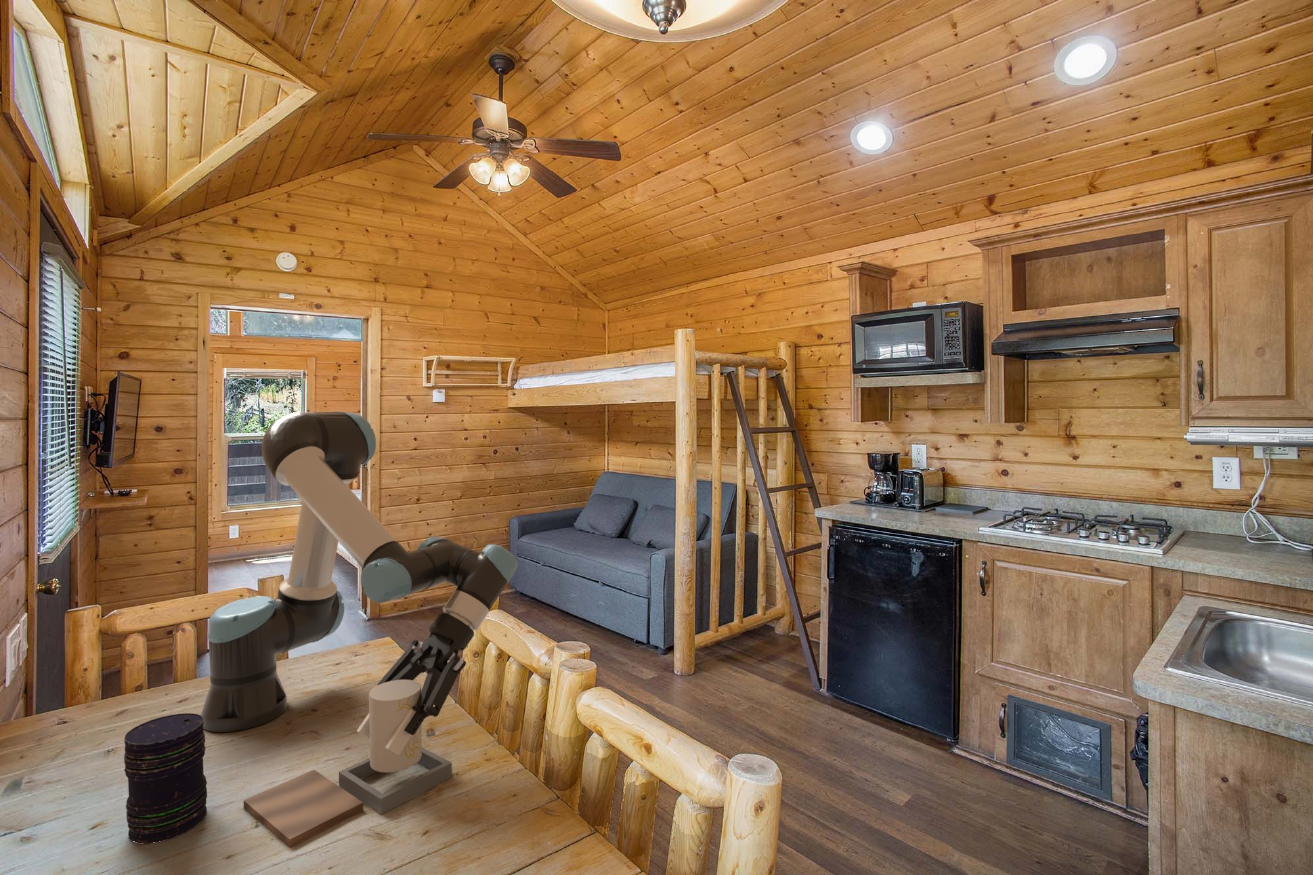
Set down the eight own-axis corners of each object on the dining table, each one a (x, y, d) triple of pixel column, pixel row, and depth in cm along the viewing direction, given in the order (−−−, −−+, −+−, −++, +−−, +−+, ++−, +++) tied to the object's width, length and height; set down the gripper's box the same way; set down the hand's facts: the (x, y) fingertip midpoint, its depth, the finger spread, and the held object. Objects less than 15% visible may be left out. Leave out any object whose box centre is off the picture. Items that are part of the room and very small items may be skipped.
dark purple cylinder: (143, 853, 93) (139, 751, 92) (115, 830, 98) (111, 733, 97) (220, 816, 101) (216, 722, 100) (190, 796, 106) (187, 707, 106)
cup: (403, 775, 105) (402, 702, 105) (359, 769, 107) (358, 697, 106) (431, 749, 113) (430, 681, 113) (389, 744, 115) (388, 677, 114)
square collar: (339, 786, 109) (338, 771, 109) (409, 753, 119) (408, 740, 119) (381, 814, 101) (380, 799, 101) (452, 776, 111) (451, 762, 111)
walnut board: (243, 807, 103) (243, 800, 103) (314, 776, 112) (314, 769, 112) (289, 847, 94) (289, 839, 94) (363, 809, 102) (362, 802, 102)
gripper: (507, 644, 115) (428, 773, 103) (437, 620, 128) (359, 732, 116) (482, 623, 111) (397, 754, 99) (412, 600, 123) (329, 714, 111)
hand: (377, 742), depth 107 cm, fingers closed on cup, 8 cm apart
